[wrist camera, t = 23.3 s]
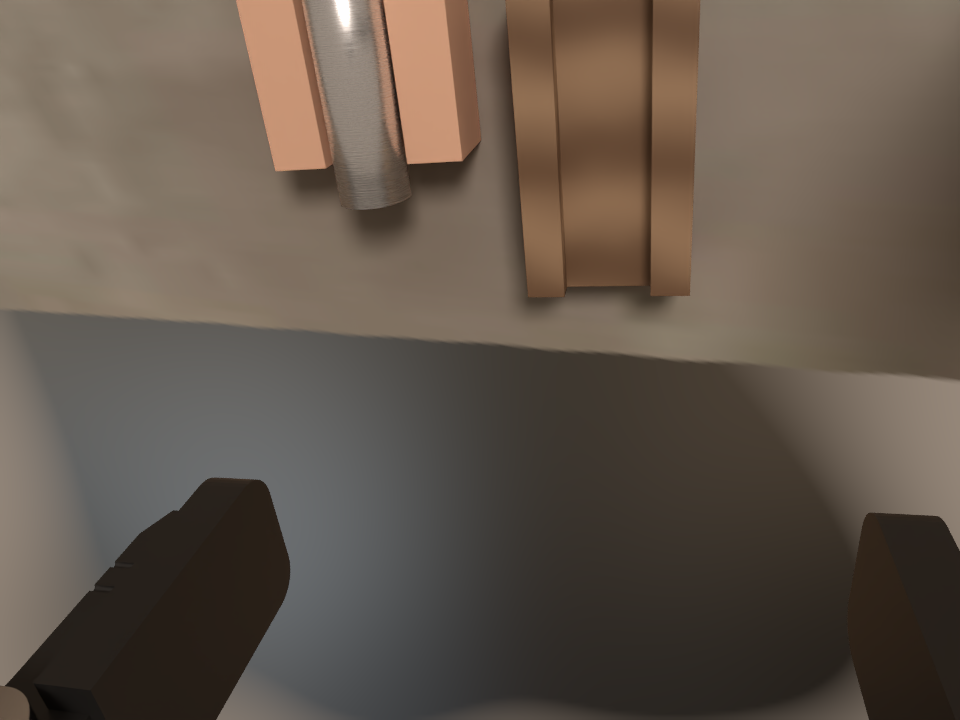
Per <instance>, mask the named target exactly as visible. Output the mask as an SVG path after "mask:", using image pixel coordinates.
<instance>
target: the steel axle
mask: <svg viewBox="0 0 960 720" xmlns="http://www.w3.org/2000/svg"><path fill="white" fill-rule="evenodd" d="M301 1H302V6H303V12H304V17H305V22H306V27H307V32H308V37H309V43H310V48H311V53H312V58H313V63H314V68H315V74H316V79H317V84H318V89H319V94H320V99H321V104H322V110H323V115H324V120H325V125H326V130H327V135H328V141H329V146H330V151H331V156H332V161H333V166H334V172H335V177H336V182H337V187H338V192H339V197H340V202H341V206H342V207H344V208H347V209H354V210H366V209H376V208H383V207H388V206H392V205H395V204H398V203H401V202H403V201H405V200H407V199H409V198H410V197H411V188H410V182H409V175H408V168H407V161H406V154H405V148H404V141H403V134H402V127H401V120H400V114H399V107H398V100H397V93H396V87H395V80H394V73H393V66H392V59H391V53H390V46H389V39H388V32H387V25H386V19H385V12H384V5H383V0H301Z"/></svg>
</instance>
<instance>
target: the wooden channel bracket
mask: <svg viewBox="0 0 960 720" xmlns="http://www.w3.org/2000/svg"><path fill="white" fill-rule="evenodd" d="M505 1H506V15H507V28H508V41H509V54H510V67H511V80H512V93H513V106H514V119H515V132H516V145H517V159H518V172H519V185H520V198H521V211H522V224H523V237H524V250H525V263H526V276H527V289H528V297H565V293H566V289H567V287H578V286H651V296H690V274H691V246H692V218H693V190H694V161H695V133H696V105H697V76H698V48H699V20H700V0H505Z"/></svg>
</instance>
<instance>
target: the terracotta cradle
mask: <svg viewBox="0 0 960 720" xmlns="http://www.w3.org/2000/svg"><path fill="white" fill-rule="evenodd" d="M236 2H237V6H238V10H239V15H240V19H241V23H242V28H243V32H244V36H245V41H246V45H247V49H248V54H249V58H250V62H251V67H252V71H253V75H254V80H255V84H256V88H257V93H258V97H259V101H260V106H261V110H262V114H263V119H264V123H265V127H266V132H267V136H268V140H269V145H270V149H271V153H272V158H273V162H274V166H275V171H288V170H306V169H325V168H327V167H329V166H330V165H332V164H333V161H332V156H331V151H330V146H329V141H328V135H327V130H326V125H325V120H324V115H323V110H322V104H321V99H320V94H319V89H318V84H317V79H316V74H315V68H314V63H313V58H312V53H311V48H310V43H309V37H308V32H307V27H306V22H305V17H304V12H303V6H302V1H301V0H236ZM383 5H384V12H385V19H386V25H387V32H388V39H389V46H390V53H391V59H392V66H393V73H394V80H395V87H396V93H397V100H398V107H399V114H400V120H401V127H402V134H403V141H404V148H405V154H406V158H407V164H417V163H436V162H454V161H463V160H464V159H465V158H466V156H467V155H468V154H469V153H470V152H471V151H472V150H473V149H474V148H475V147H476V145H477V144H478V143H479V142H480V141H481V133H480V123H479V113H478V103H477V93H476V83H475V72H474V62H473V52H472V42H471V32H470V21H469V11H468V1H467V0H383Z"/></svg>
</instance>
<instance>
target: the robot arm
mask: <svg viewBox="0 0 960 720" xmlns="http://www.w3.org/2000/svg"><path fill="white" fill-rule="evenodd" d="M289 580H290V561H289V556H288V553H287V549H286V546H285V543H284V539H283V536H282V532H281V530H280V526H279V522H278V519H277V515H276V512H275V509H274V505H273V502H272V499H271V495H270V492H269V489H268V488H267V486H266V484H265V483H264V482H262V481H261V480H252V479H251V480H250V479H233V478H210V479H207V480H206V481H205V482H203V483H202V484H201V485H200V486H199V487H198V489H197V490H196V491H195V492H194V493H193V495H192V496H191V497H190V498H189V499H188V501H187V502H186V503H185V504H184V505H183V506H182V508H181V509H180V510H179V511H172V512H170V513H169V514H167V515H166V516H165V517H163V518H162V519H160V520H159V521H157V522H156V523H155V524H153V525H151V526H150V527H149V528H147V529H146V530H145V531H143V532H141V533H140V534H139V535H138V536H137V537H136V539H135V540H134V541H133V542H132V543H131V544H130V545H129V546H128V548H127V549H126V550H125V551H124V552H123V553H122V554H121V555H120V557H119V558H118V559H117V560H116V561H115V566H114V568H113V567H110V568H109V569H108V570H107V571H106V573H105V574H104V575H103V576H102V577H101V578H100V579H99V580H98V582H97V583H96V584H95V589H94V591H89V592H88V593H87V594H86V595H85V596H84V597H83V599H82V600H81V601H80V602H79V603H78V604H77V605H76V607H75V608H74V609H73V610H72V611H71V612H70V614H68V616H67V617H66V618H65V619H64V620H63V621H62V623H61V624H60V625H59V626H58V627H57V628H56V629H55V630H54V632H53V633H52V634H51V635H50V636H49V637H48V638H47V639H46V641H45V642H44V643H43V644H42V645H41V646H40V647H39V649H38V650H37V651H36V652H35V653H34V654H33V655H32V656H31V658H30V659H29V660H28V661H27V662H26V663H25V665H24V666H23V667H22V668H21V669H20V670H19V671H18V672H17V673H16V675H15V676H14V677H13V678H12V679H11V680H10V681H9V682H8V683H7V684H6V685H5V686H0V720H216V719H217V717H218V715H219V714H220V712H221V710H222V708H223V707H224V705H225V703H226V701H227V700H228V698H229V696H230V694H231V693H232V691H233V689H234V687H235V686H236V684H237V682H238V680H239V678H240V677H241V675H242V673H243V672H244V670H245V668H246V666H247V664H248V663H249V661H250V659H251V657H252V656H253V654H254V652H255V650H256V649H257V647H258V645H259V643H260V642H261V640H262V638H263V636H264V635H265V633H266V631H267V629H268V628H269V626H270V624H271V622H272V621H273V619H274V617H275V615H276V614H277V612H278V610H279V608H280V607H281V605H282V603H283V601H284V599H285V596H286V593H287V590H288V585H289ZM847 627H848V639H849V646H850V651H851V656H852V660H853V663H854V667H855V671H856V674H857V678H858V682H859V685H860V689H861V692H862V696H863V699H864V703H865V707H866V710H867V714H868V717H869V720H960V551H959V549H958V547H957V545H956V543H955V541H954V539H953V537H952V535H951V533H950V531H949V529H948V527H947V525H946V524H945V522H944V521H943V520H942V519H941V518H940V517H938V516H925V515H905V514H885V513H868V514H867V515H866V517H865V519H864V522H863V526H862V531H861V536H860V541H859V547H858V552H857V558H856V563H855V569H854V574H853V580H852V585H851V590H850V596H849V602H848V611H847Z"/></svg>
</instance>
